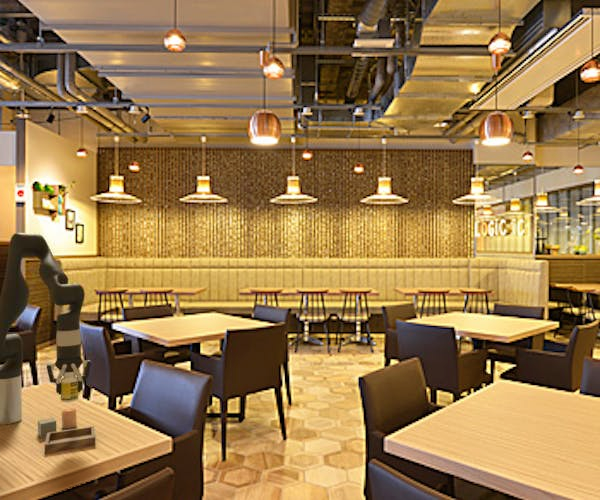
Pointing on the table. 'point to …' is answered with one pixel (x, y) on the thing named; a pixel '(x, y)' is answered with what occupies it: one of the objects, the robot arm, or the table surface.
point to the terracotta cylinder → (69, 418)
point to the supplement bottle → (69, 387)
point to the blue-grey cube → (46, 426)
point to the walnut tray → (70, 439)
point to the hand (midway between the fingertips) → (69, 392)
